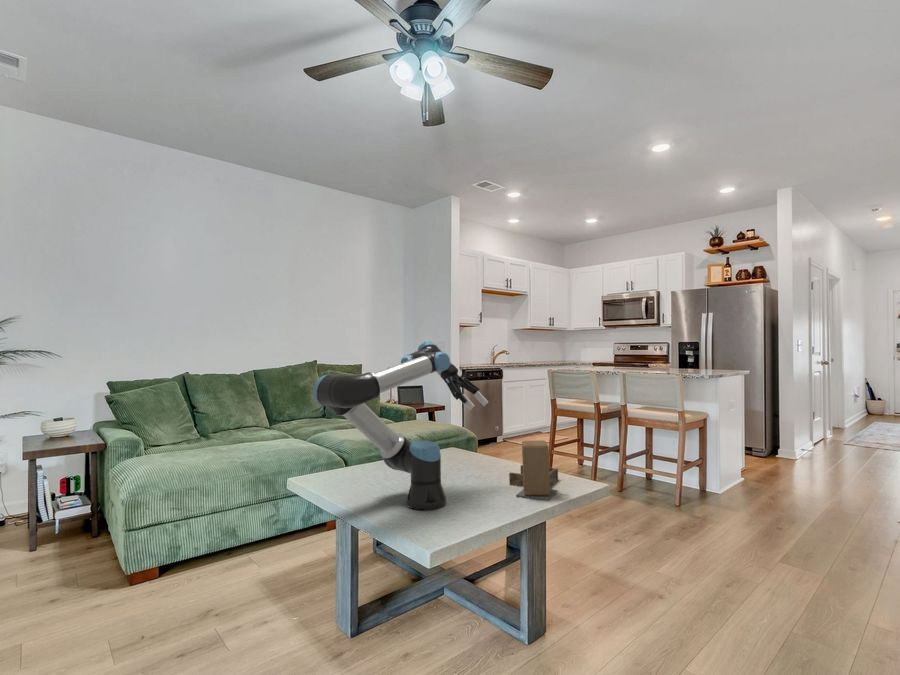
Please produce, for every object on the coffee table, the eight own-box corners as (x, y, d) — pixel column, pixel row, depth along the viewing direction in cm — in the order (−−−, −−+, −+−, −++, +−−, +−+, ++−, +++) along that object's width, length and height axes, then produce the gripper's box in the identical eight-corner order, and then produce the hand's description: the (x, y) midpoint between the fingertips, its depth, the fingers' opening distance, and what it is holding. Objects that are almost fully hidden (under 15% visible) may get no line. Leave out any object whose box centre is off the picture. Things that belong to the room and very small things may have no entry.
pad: (516, 497, 188) (516, 495, 188) (526, 488, 200) (526, 486, 200) (548, 501, 182) (548, 499, 182) (557, 491, 194) (557, 489, 194)
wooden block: (547, 488, 195) (546, 440, 196) (550, 496, 185) (548, 444, 186) (523, 488, 196) (521, 440, 197) (524, 496, 186) (522, 445, 187)
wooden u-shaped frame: (509, 484, 205) (509, 473, 205) (521, 476, 219) (521, 465, 219) (547, 489, 197) (547, 477, 197) (558, 479, 211) (557, 468, 211)
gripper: (436, 364, 190) (471, 403, 182) (464, 362, 212) (496, 396, 204) (425, 377, 192) (459, 416, 185) (454, 374, 214) (486, 408, 207)
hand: (479, 406), depth 195 cm, fingers open, 13 cm apart
